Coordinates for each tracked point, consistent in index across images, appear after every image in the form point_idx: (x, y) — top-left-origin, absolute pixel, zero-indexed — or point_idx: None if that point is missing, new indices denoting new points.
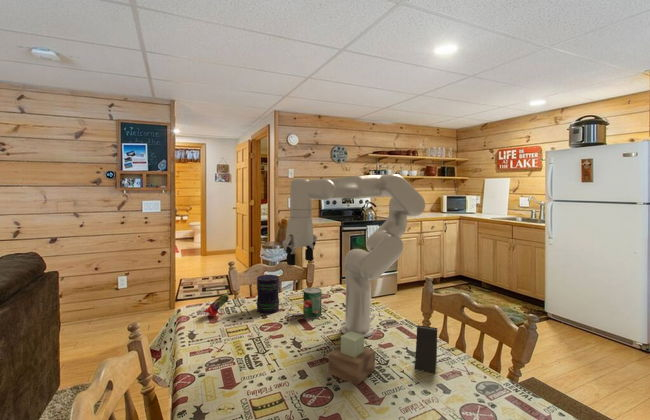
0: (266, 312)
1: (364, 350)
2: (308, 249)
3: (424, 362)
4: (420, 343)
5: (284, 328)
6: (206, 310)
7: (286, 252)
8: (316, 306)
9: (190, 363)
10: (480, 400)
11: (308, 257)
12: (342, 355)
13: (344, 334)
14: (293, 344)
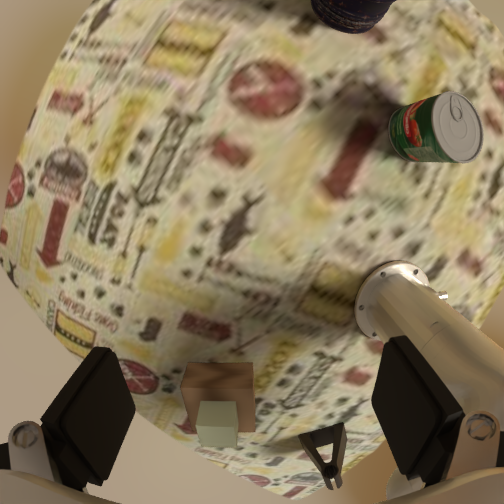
0: (322, 17)
1: (242, 422)
2: (427, 453)
3: (306, 450)
4: (317, 463)
5: (285, 128)
6: None
7: (21, 433)
8: (422, 157)
9: (35, 137)
10: (276, 479)
11: (386, 394)
12: (195, 406)
13: (208, 427)
14: (225, 227)
